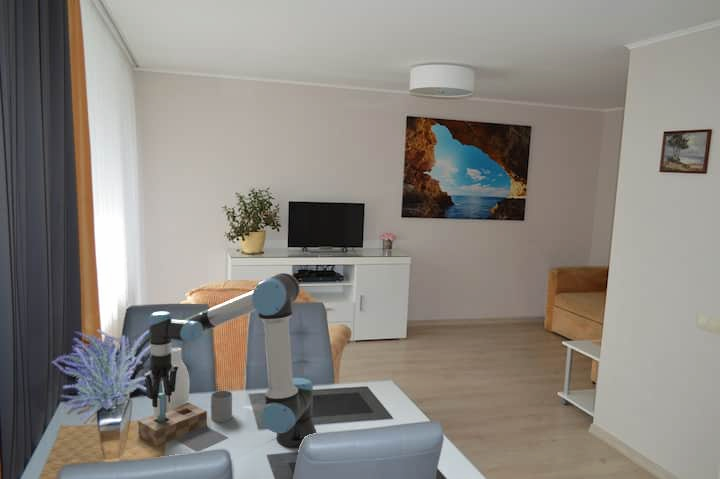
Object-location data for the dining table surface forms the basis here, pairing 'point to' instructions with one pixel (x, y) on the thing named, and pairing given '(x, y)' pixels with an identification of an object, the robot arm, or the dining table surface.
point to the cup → (221, 406)
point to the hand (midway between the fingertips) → (161, 412)
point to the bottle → (179, 381)
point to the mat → (201, 439)
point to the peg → (162, 409)
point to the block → (173, 423)
